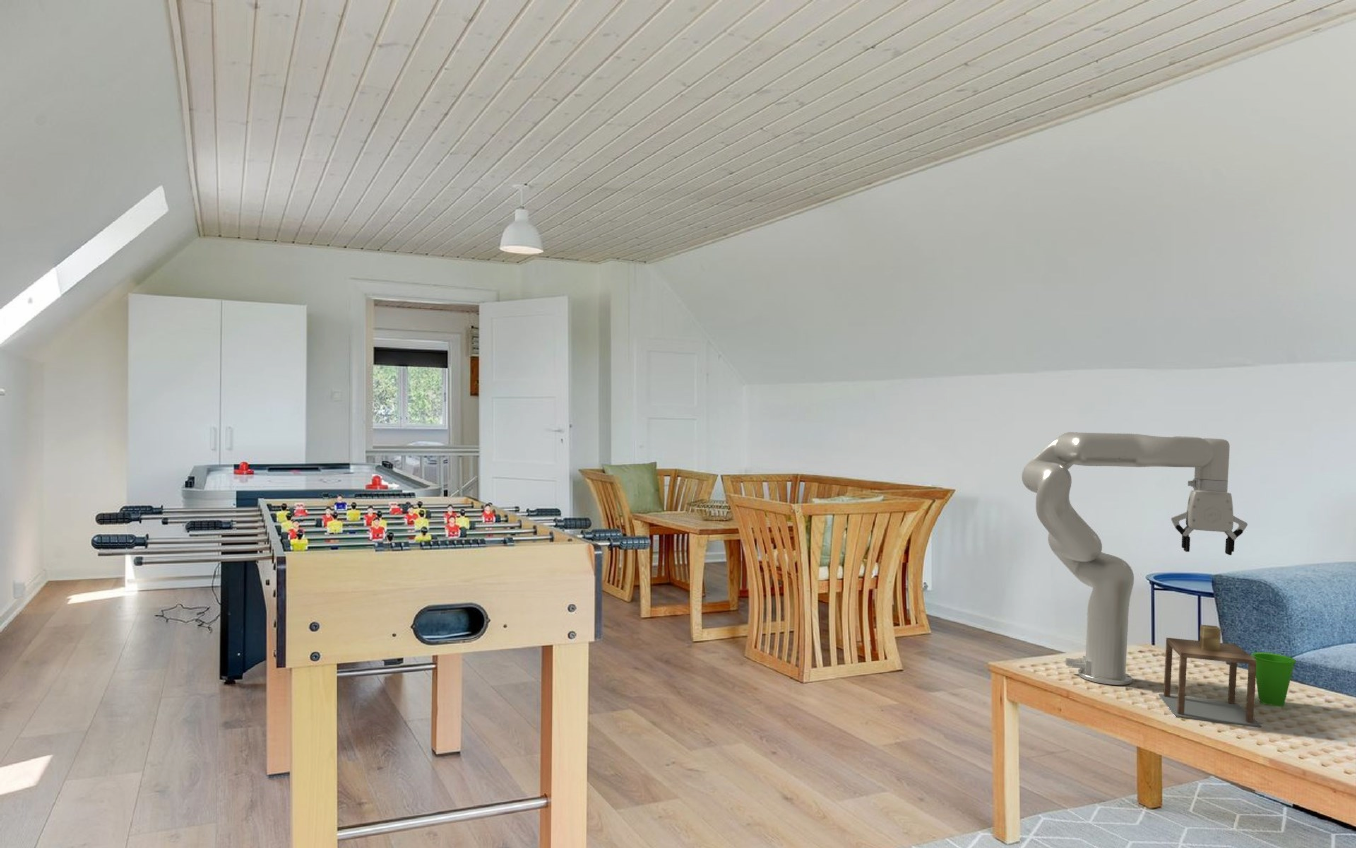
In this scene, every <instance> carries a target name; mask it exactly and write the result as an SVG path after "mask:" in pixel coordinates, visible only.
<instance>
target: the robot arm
mask: <svg viewBox="0 0 1356 848" xmlns="http://www.w3.org/2000/svg"><path fill="white" fill-rule="evenodd" d="M1229 465H1230V443H1229V441H1228V440H1227V439H1224V438H1223V439H1222V438H1205V437H1204V438H1202V437H1199V436H1197V437H1195V436H1155V435H1149V434H1148V435H1147V434H1140V433H1122V432H1121V433H1115V432H1114V433H1111V432H1110V433H1108V432H1107V433H1106V432H1074V431H1072V432H1071V431H1068V432H1064V433H1063V434H1061V435H1059V436H1057V437H1056V438H1055V439H1054V440H1052V442H1051V443H1049V444H1048V445H1047V446H1046V447H1045V448H1043V449H1042V450H1041V451H1040V452H1039V453H1038V454H1037V455H1035V456H1034V457H1033V458H1032V459H1031V460H1030V461H1029V462H1028V463H1027V464H1025V466H1024V467H1023V470H1022V472H1021V481H1022V484H1023V485H1024V487H1026V488H1027V490H1028V491H1030V492H1033V493H1035V494H1036V496H1035V512H1036V516H1037V518H1038V520H1039V521H1040V523H1041V524H1042V526H1043V527H1044V528H1045V530H1047V532H1048V536H1047V540H1048V541H1047V542H1048V545H1049V547H1050V550H1051V551H1052V552H1053V553H1054V555H1055V556H1056V557H1057V558H1058V559H1059V560H1060V561H1061V563H1062V564H1063V565H1064V566H1065V567H1066V568H1067V569H1068V570H1069V571H1070V573H1072V574H1073V576H1074V577H1076V579H1078V580H1079V581H1080V582H1081V583H1083V584H1084V585H1086V586H1088V587H1091V588H1092V590H1091V593H1090V596H1089V599H1088V604H1087V613H1086V614H1087V615H1086V616H1087V618H1086V622H1087V623H1086V639H1085V640H1086V643H1085V655H1082V658H1078V659H1074V658H1065V666H1067V667H1071V668H1073V669H1074V668H1075V669H1078V672H1077V674H1078V676H1079V677H1080V678H1082V679H1085V680H1087V681H1090V682H1094V683H1098V684H1102V685H1103V684H1104V685H1112V686H1113V685H1114V686H1126V685H1130V684H1131V683H1133V677H1132V676H1131V675H1130V674H1128V673H1127V671H1126V670H1127V655H1128V654H1127V653H1128V634H1129V633H1128V631H1129V630H1128V628H1129V611H1130V610H1129V609H1130V608H1129V607H1130V602H1131V596H1132V592H1133V588H1134V583H1135V576H1134V572H1133V569H1132V567H1131V565H1129V562H1128V563H1127V561H1125V560H1124V559H1123V558H1120V557H1118V556H1115V555H1112V554H1109V553H1105V552H1102V550H1103V543H1102V540H1101V539H1100V536H1099V534H1097V532H1095V530H1093V529H1092V527H1091V526H1090V525H1089V524H1088V523H1087V522H1086V521H1085V520H1084V519H1083V518H1082V517H1081V515H1079V513H1078V512H1077V511H1076V510H1075V508H1074V507H1073V506H1072V504H1071V500H1070V494H1071V493H1070V491H1071V488H1072V476H1071V473H1070V471H1069V469H1070V468H1071V467H1072V466H1082V467H1083V466H1084V467H1120V468H1121V467H1124V468H1125V467H1126V468H1127V467H1131V468H1150V467H1152V468H1154V467H1155V468H1156V467H1157V468H1158V467H1162V468H1163V467H1164V468H1165V467H1166V468H1194V477H1193V479H1192V480H1188V481H1187V487H1192V489H1193V490H1191V491H1190V493H1189V495H1188V501H1187V506H1186V507H1187V508H1186V511H1185V512H1183V513H1180V514H1178V515H1175V516H1172V517H1171V518H1170V520H1171V523H1172V524H1173V526H1174V528H1175V530H1176V531H1177V532H1179V533H1180V535H1181V548H1182V549H1183V551H1184V552H1186V553H1188V552H1190V548H1191V537H1190V536H1189V535H1190V534H1191V533H1192V532H1194V530H1196V531H1204V532H1205V531H1206V532H1218V533H1219V532H1220V533H1224V534H1225V535H1226V536H1227V537H1226V538H1225V544H1224V545H1225V546H1224V547H1225V548H1224V550H1225V551H1224V552H1225V554H1226V555H1228V556H1232V555H1233V552H1235V540H1237V538H1238V537H1239V536H1241V535H1242V534H1243V533H1244V531H1245V529H1246V528H1247V527H1248V522H1246V521H1244V520H1242V519H1240V518H1239V517H1236V516H1235V515H1234V507H1233V505H1234V504H1233V497H1232V494H1231V492H1228V485H1229ZM1182 520H1185V527H1184V528H1183V527H1182V525H1181V524H1180V521H1182ZM1234 523H1236V524H1237V525H1238V527H1237V528H1236V529H1235V530H1234V529H1233V528H1234Z"/></svg>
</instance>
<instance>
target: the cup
mask: <svg viewBox="0 0 1356 848" xmlns="http://www.w3.org/2000/svg"><path fill="white" fill-rule="evenodd" d="M1251 656H1252V657H1253V658H1254V659H1256V660H1257V662H1256V682H1255V683H1256V689H1257V695H1258V697H1257V699H1258V700H1259V702H1260V703H1262V704H1264V705H1267V706H1268V705H1269V706H1273V707H1274V706H1275V707H1282V706H1284V704H1285V702H1286V699H1287V695H1288V691H1289V687H1290V683H1291V678H1292V674H1293V671H1294V665H1295V664H1296V663H1297V661H1296V659H1295V658H1293V657H1290V656H1288V655H1283V654H1279V653H1274V652H1273V653H1272V652H1261V651H1260V652H1253V653H1251Z"/></svg>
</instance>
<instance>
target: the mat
mask: <svg viewBox="0 0 1356 848" xmlns="http://www.w3.org/2000/svg"><path fill="white" fill-rule="evenodd" d="M1158 697H1159V698H1160V699H1161V700H1162V702H1163V703H1164V704H1165V705H1166V707H1167V708H1168V707H1169V708H1168V710H1169V711H1170V710H1171V711H1170V713H1172V715H1173V714H1174V715H1175V716H1176V717H1175V716H1174V715H1173V716H1174V717H1175V718H1179V717H1183V718H1182V719H1189V720H1197V721H1198V720H1199V721H1206V722H1214V723H1223V724H1231V725H1239V726H1247V727H1255V728H1261V727H1262V725H1261V724H1260V723H1259V722H1258V721H1257V719H1255V718H1254V721H1253V723H1248V722H1246V708H1244V707H1243V706H1242V705H1241V704H1240V703H1239V702H1236V701H1235V705H1234V704H1229V703H1228V700H1227V701H1225V700H1216V699H1209V698H1200V697H1199V698H1198V697H1193V696H1192V697H1191V696H1185V707H1184V715H1181V714H1178V713H1177V702H1178V695H1174V694H1170V697H1164V693H1158Z"/></svg>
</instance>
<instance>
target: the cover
mask: <svg viewBox="0 0 1356 848" xmlns="http://www.w3.org/2000/svg"><path fill="white" fill-rule="evenodd" d="M1199 627H1200V628H1199V629H1200V630H1199V640H1196V639H1184V638H1173V637H1166V638H1165V639H1166V640H1165V656H1164V657H1165V658H1164V679H1163V680H1164V681H1163V694H1164V697H1170V695H1171V687H1172V686H1171V685H1172V683H1171V682H1172V667H1173V664H1172V663H1173V650H1174V651H1175V652H1176V654H1177V655H1178V656H1179V664H1178V682H1177V683H1178V684H1177V685H1178V686H1177V696H1178V702H1177V713H1178V714H1181V715H1184V707H1185V697H1186V684H1187V665H1188V662H1187V661H1188V658H1189V659H1196V660H1205V661H1215V662H1225V663H1229V672H1228V688H1227V689H1228V690H1227V701H1228V703H1229V704H1234V705H1235V702H1236V689H1237V674H1238V673H1237V670H1238V669H1237V668H1238V664H1245V665H1248V668H1247V686H1246V688H1247V689H1246V704H1245V705H1246V707H1245V710H1246V722H1248V723H1253V721H1254V719H1255V717H1254V716H1255V701H1256V700H1255V699H1256V698H1255V696H1256V694H1255V693H1256V683H1257V682H1256V662H1257V660H1256V659H1254V658H1253V656H1252V655H1251V654H1249V653H1248V652H1247V651H1245V650H1244V649H1243V648H1242V647H1240V646H1239V645H1238V644H1234V643H1225V642H1221V634H1222V629H1221V628H1220V627H1219V626H1217V625H1208V624H1207V625H1206V624H1200V626H1199Z"/></svg>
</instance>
